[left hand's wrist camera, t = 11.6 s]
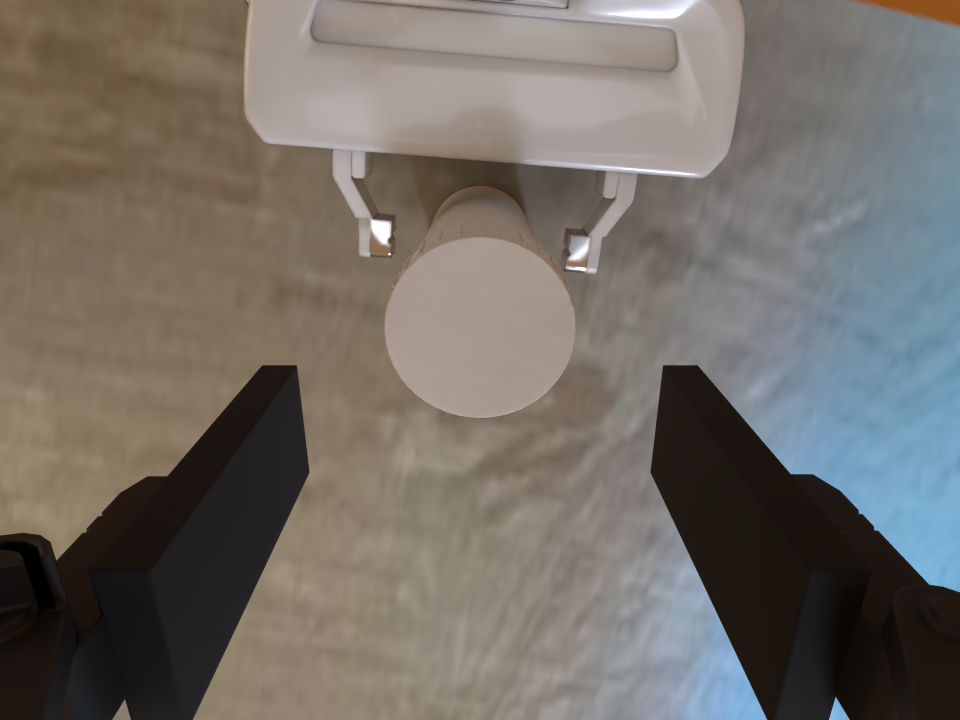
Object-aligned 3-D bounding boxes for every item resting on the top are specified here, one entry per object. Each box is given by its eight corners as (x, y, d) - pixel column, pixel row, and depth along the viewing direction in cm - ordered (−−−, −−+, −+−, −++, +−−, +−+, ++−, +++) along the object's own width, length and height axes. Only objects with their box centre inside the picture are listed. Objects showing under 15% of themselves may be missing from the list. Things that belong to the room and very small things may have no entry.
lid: (398, 210, 21) (389, 222, 18) (582, 233, 21) (594, 247, 19) (386, 379, 23) (376, 409, 21) (552, 398, 23) (559, 429, 21)
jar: (436, 179, 34) (402, 233, 19) (535, 192, 34) (578, 255, 19) (427, 277, 36) (389, 394, 21) (521, 288, 36) (549, 412, 21)
